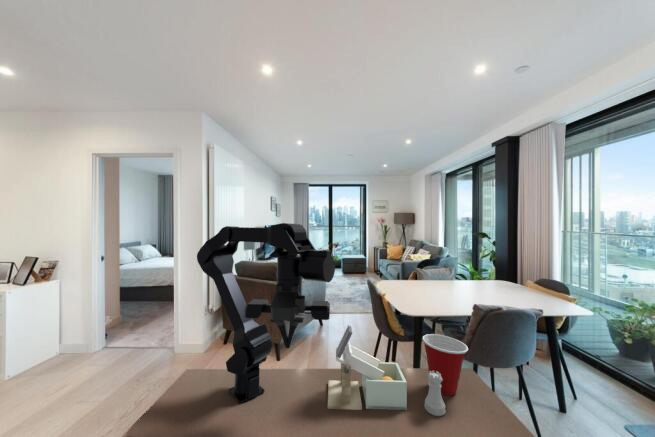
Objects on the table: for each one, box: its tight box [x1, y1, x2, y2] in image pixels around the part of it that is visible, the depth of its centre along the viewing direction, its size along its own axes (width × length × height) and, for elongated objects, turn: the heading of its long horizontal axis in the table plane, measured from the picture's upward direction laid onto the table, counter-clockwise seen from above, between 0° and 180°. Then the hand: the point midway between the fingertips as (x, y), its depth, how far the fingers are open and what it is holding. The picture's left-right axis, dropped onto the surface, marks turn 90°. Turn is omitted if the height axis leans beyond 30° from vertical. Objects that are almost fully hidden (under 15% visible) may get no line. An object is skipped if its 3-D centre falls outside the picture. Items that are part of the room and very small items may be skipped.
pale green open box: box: [361, 361, 408, 411], centre depth 64 cm, size 9×9×6 cm
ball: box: [381, 376, 393, 380], centre depth 64 cm, size 4×4×4 cm
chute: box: [335, 324, 384, 380], centre depth 65 cm, size 11×6×7 cm, turn 87°
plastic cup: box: [422, 333, 469, 396], centre depth 68 cm, size 11×11×12 cm
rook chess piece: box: [424, 370, 446, 417], centre depth 60 cm, size 4×4×8 cm
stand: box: [327, 349, 363, 411], centre depth 65 cm, size 8×10×9 cm
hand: (287, 347), depth 61 cm, fingers closed
